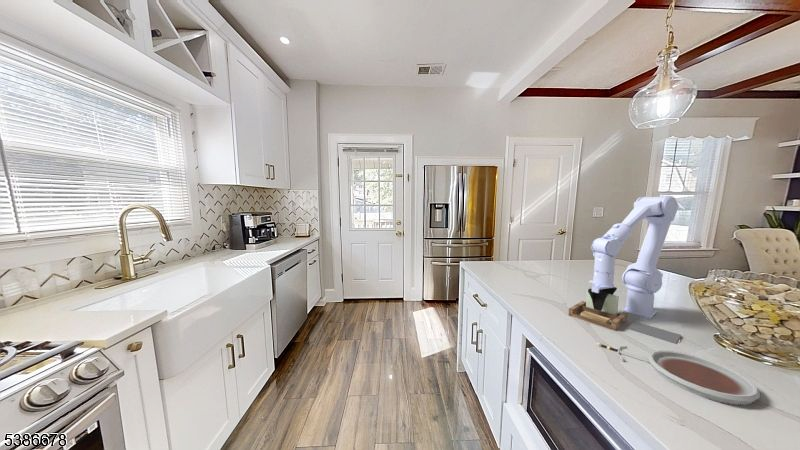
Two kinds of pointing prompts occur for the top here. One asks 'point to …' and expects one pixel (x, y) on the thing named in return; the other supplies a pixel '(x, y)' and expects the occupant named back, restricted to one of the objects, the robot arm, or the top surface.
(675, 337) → the mat
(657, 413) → the top surface
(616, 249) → the robot arm
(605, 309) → the board
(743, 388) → the frying pan
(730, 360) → the top surface
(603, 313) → the rack
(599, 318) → the offcut top
